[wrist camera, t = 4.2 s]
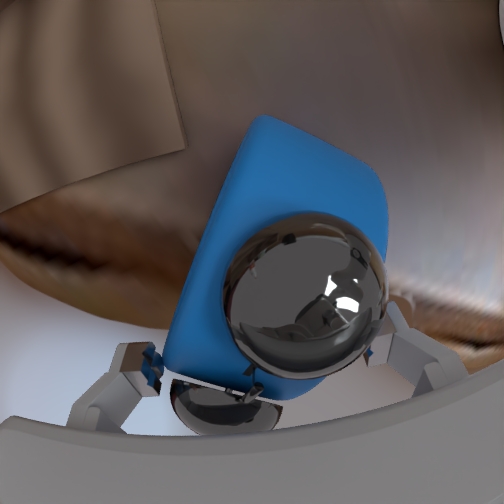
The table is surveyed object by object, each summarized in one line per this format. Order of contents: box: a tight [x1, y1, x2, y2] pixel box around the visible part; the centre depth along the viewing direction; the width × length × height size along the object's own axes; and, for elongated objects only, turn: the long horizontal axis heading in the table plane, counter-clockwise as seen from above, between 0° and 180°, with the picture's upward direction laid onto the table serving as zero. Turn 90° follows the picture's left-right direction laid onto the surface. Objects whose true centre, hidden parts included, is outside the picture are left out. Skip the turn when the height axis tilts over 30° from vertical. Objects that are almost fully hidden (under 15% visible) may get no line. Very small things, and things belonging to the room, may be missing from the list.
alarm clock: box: [162, 115, 389, 435], centre depth 15 cm, size 13×6×15 cm, turn 157°
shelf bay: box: [0, 0, 188, 213], centre depth 12 cm, size 20×18×8 cm
